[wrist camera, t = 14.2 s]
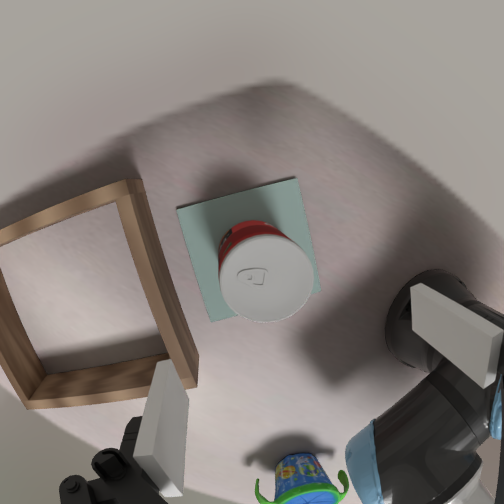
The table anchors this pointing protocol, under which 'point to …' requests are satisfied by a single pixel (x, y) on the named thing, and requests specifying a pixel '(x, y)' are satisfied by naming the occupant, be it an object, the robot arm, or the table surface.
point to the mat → (230, 214)
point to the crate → (157, 293)
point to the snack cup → (303, 482)
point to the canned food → (263, 272)
